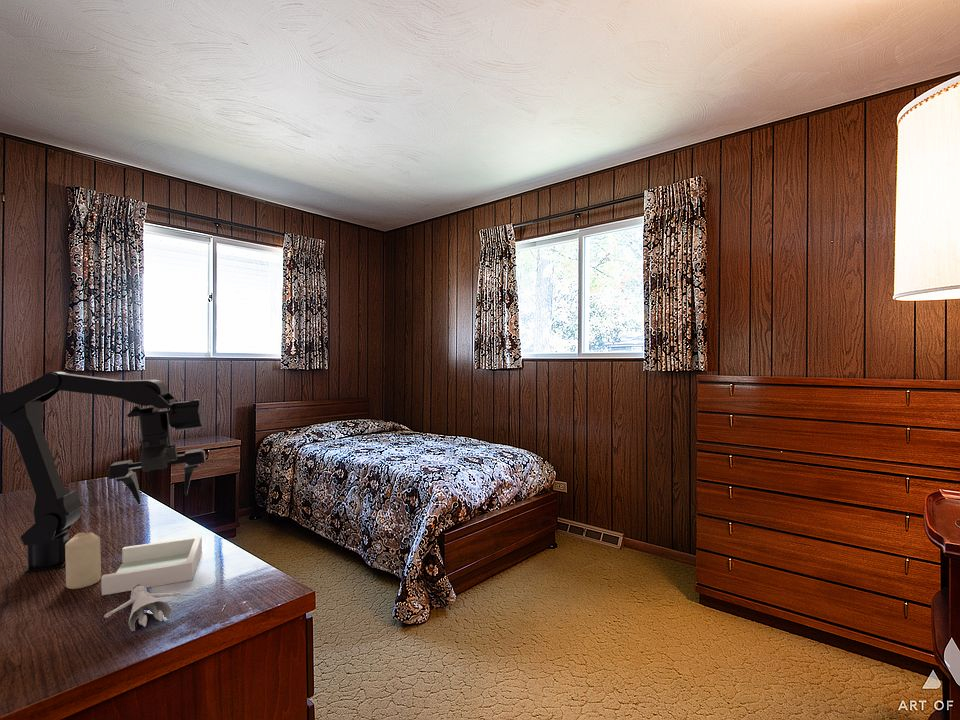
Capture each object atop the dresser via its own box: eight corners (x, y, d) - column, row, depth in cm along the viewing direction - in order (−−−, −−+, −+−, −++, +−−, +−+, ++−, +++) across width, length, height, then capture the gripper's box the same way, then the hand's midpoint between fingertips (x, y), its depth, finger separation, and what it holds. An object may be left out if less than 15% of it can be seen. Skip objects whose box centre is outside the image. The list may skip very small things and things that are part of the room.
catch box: (101, 595, 94) (101, 577, 94) (124, 562, 109) (123, 547, 109) (192, 579, 100) (192, 562, 100) (201, 550, 115) (201, 536, 115)
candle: (60, 585, 98) (59, 536, 98) (92, 574, 103) (91, 527, 103) (74, 591, 96) (73, 541, 96) (106, 580, 101) (105, 531, 101)
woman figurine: (108, 620, 77) (98, 588, 90) (109, 649, 77) (99, 612, 90) (192, 595, 85) (172, 569, 98) (193, 621, 85) (172, 591, 98)
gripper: (97, 445, 103) (106, 518, 103) (199, 430, 111) (207, 498, 112) (109, 438, 113) (117, 505, 113) (201, 425, 121) (209, 487, 122)
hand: (163, 499), depth 115 cm, fingers open, 9 cm apart
